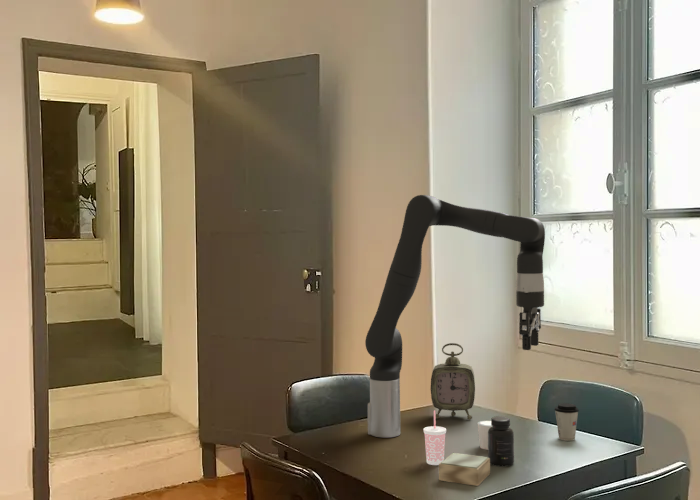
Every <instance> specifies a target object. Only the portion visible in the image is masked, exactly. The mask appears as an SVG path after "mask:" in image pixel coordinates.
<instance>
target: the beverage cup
mask: <svg viewBox="0 0 700 500" xmlns="http://www.w3.org/2000/svg"><path fill="white" fill-rule="evenodd" d="M436 414H437V413H436V410H433V426H432V425H431V426H426V427H424V428H423V429H422V430H423V433H424V442H425V444H424V447H425V457H426V464H428V465H430V466H431V465H432V466H439V464H440V463H441V462H442V461H443V460H445V449H446V447H445V446H446V433H447V428H446V427H443V426H438V425H436V424H437V421H436V420H437V419H436Z"/></svg>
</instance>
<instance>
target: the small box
mask: <svg viewBox="0 0 700 500" xmlns="http://www.w3.org/2000/svg"><path fill="white" fill-rule="evenodd" d="M489 475H491V464H490V458H488V456H482V455H473V454H466V453H458V452H453V453H451V454H449V456H447V457H446V458H444V460H443V461H442V462H441V463H440V464H439V465H438V480H439V481H442V482H443V481H444V482H449V483H454V484H462V485H470V486H477V487H478V486H480V485H481V484H482V482H484V481H485V480H486V479H487V478H488V477H489Z"/></svg>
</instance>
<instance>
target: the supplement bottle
mask: <svg viewBox="0 0 700 500" xmlns="http://www.w3.org/2000/svg"><path fill="white" fill-rule="evenodd" d="M510 420H511V419H510V418H509V417H508V416H503V415H501V416H500V415H495V416H493V417H491V425H492V427H491V428H489V430H488V450H487V457H488V458H490V465H493V466H495V467H510V466H512V465H513V464H514V463H515V434H514V432H515V431H514V430H513V429H512V428H511V427H510V426H511V421H510Z"/></svg>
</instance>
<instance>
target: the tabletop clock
mask: <svg viewBox="0 0 700 500" xmlns="http://www.w3.org/2000/svg"><path fill="white" fill-rule="evenodd" d="M448 346H457V347H459V348H460V349H461V351H460V352H458V353H455V351H451V352H450V353H447V352H446V351H444V349H445V348H446V347H448ZM441 352H442V353H443V354H444V355H446V356H447V357H446V360H445V362H444V363H440V364H436V365H434V367H433V370H432V373H431V378H430V394H431V395H430V396H431V397H430V398H431V401H432V405H433V407H434V408H436V409H438V411H437V413H435V414H436V420H438V419H440V413H441V412H442V410H444V411H451V413H450V416H452V417H455V416H456V415H457V414H456V412H457V411H465V413H466V415H467V416H466V418H467V420H469V421H471V420H472V419H473V416H472V414H470V413H469V411H468V410H471V409H472V408H473V406H474V402H475V399H476V397H475V395H476V384H475V383H476V382H475V374H474V369H473V367H472V366H471V365H470V364H466V363H461V360H460V358H458V357H457V356H460V355H462V354H463V352H464V348H463V346H462V345H460V344H458V343H455V342H450V343H446V344H444V345H443V346H442V348H441ZM455 411H456V412H455Z"/></svg>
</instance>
